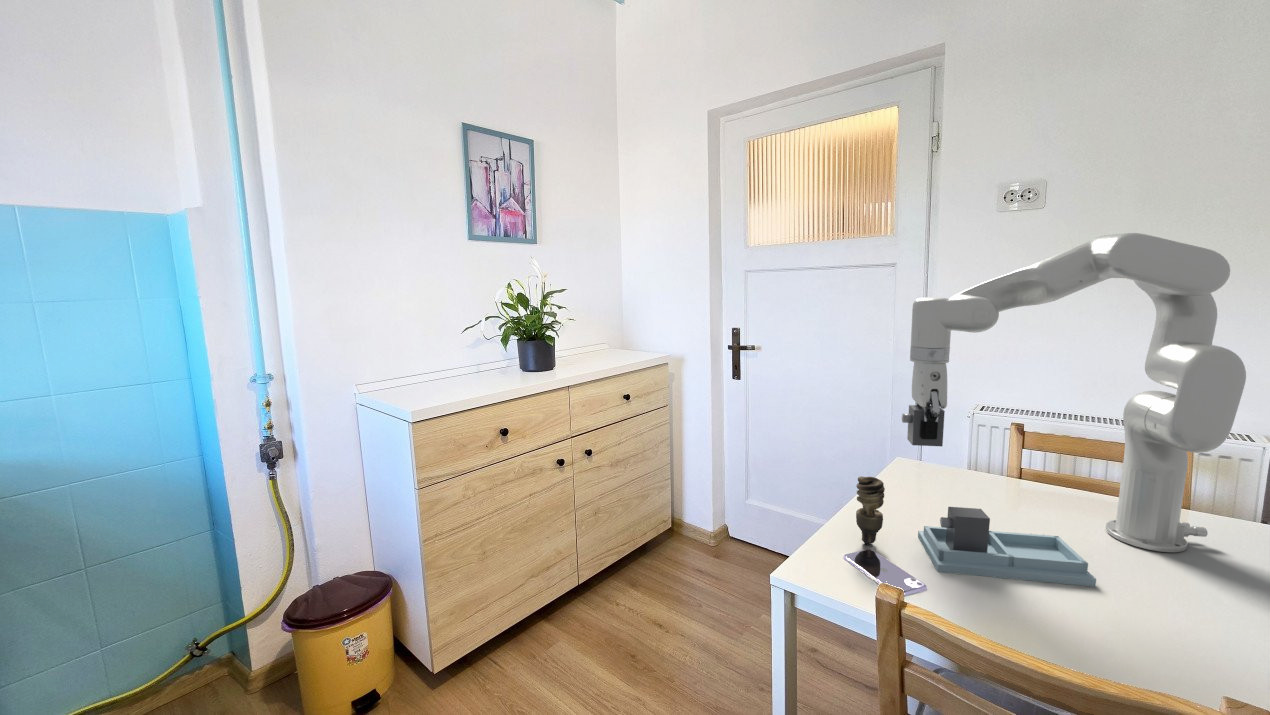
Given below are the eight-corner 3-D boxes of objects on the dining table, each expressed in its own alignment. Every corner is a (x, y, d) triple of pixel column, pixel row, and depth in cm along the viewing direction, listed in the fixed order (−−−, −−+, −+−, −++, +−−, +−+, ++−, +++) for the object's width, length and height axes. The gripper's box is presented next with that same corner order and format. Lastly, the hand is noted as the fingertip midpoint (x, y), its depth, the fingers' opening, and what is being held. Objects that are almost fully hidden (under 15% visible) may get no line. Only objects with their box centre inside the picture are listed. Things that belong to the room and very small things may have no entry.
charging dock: (1055, 548, 111) (1057, 532, 111) (1095, 586, 98) (1097, 568, 97) (917, 537, 117) (918, 522, 117) (937, 571, 104) (938, 554, 103)
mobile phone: (871, 547, 113) (930, 585, 99) (870, 551, 113) (930, 590, 99) (840, 553, 110) (897, 594, 96) (840, 558, 110) (896, 599, 96)
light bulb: (849, 538, 118) (851, 472, 115) (873, 536, 118) (876, 471, 116) (862, 551, 112) (865, 482, 110) (887, 549, 113) (890, 481, 110)
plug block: (936, 440, 122) (938, 405, 121) (942, 446, 118) (944, 410, 117) (899, 438, 124) (900, 404, 123) (904, 444, 120) (905, 409, 118)
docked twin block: (978, 545, 110) (981, 508, 109) (986, 557, 106) (989, 518, 105) (936, 542, 112) (939, 506, 111) (943, 553, 108) (946, 515, 107)
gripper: (962, 361, 109) (956, 448, 111) (936, 349, 125) (932, 425, 128) (921, 360, 110) (916, 446, 113) (901, 348, 127) (897, 424, 129)
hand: (925, 434), depth 120 cm, fingers closed on plug block, 4 cm apart
